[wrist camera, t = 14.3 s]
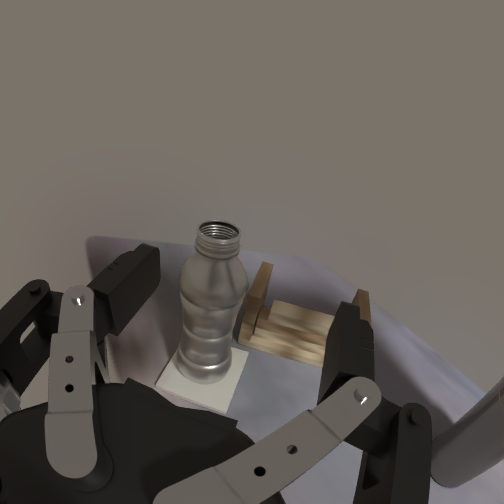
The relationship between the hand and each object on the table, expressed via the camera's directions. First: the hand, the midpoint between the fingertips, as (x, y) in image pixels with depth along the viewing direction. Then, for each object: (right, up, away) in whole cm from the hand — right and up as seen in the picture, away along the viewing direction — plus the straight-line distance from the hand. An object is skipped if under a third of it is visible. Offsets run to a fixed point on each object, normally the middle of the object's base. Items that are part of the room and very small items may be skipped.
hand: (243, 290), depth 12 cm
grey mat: (-6, -14, +24) cm, 28 cm away
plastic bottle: (-6, -13, +23) cm, 27 cm away
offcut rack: (+7, -12, +31) cm, 34 cm away
